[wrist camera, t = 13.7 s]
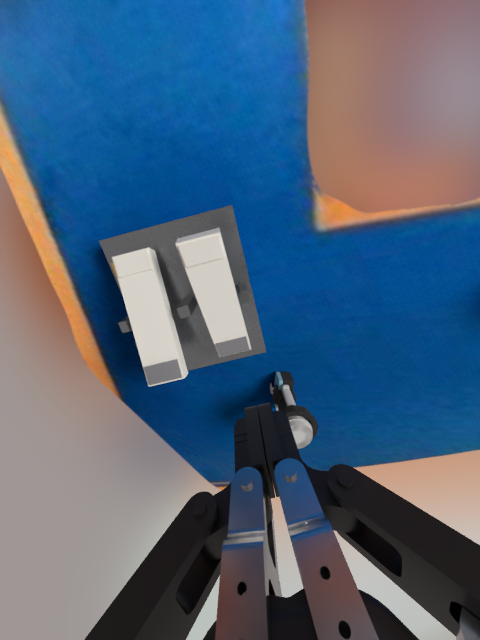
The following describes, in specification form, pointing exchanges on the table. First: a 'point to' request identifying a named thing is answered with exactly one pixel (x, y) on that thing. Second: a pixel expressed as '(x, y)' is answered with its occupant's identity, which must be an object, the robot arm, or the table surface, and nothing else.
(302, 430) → the push button
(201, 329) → the switch unit
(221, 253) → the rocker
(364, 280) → the table surface
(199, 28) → the table surface
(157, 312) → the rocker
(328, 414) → the table surface
